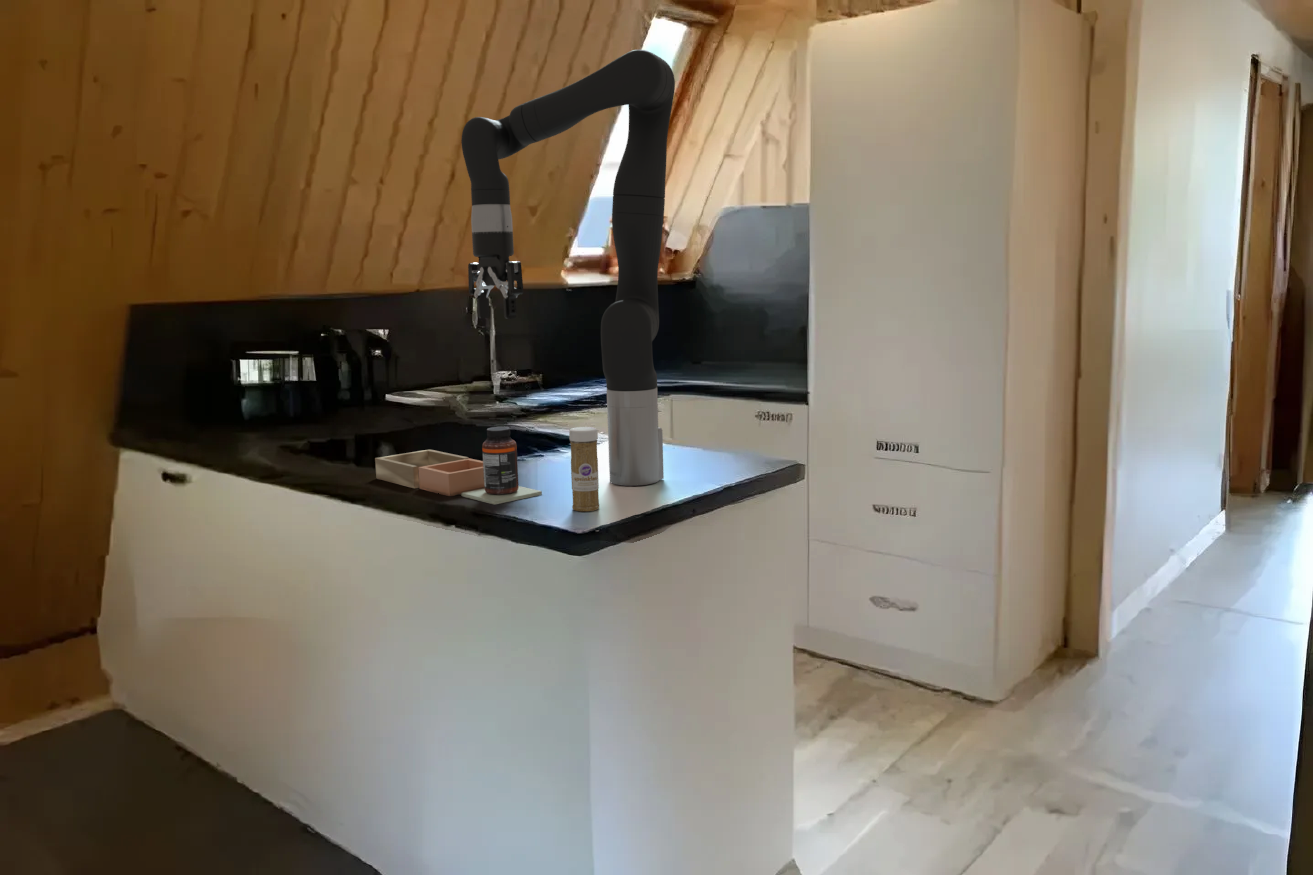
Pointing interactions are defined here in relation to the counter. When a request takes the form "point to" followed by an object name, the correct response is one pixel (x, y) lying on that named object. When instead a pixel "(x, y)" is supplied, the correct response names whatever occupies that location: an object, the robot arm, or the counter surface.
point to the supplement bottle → (500, 462)
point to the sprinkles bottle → (584, 468)
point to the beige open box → (410, 466)
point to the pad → (503, 498)
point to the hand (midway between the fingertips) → (496, 318)
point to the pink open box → (452, 477)
